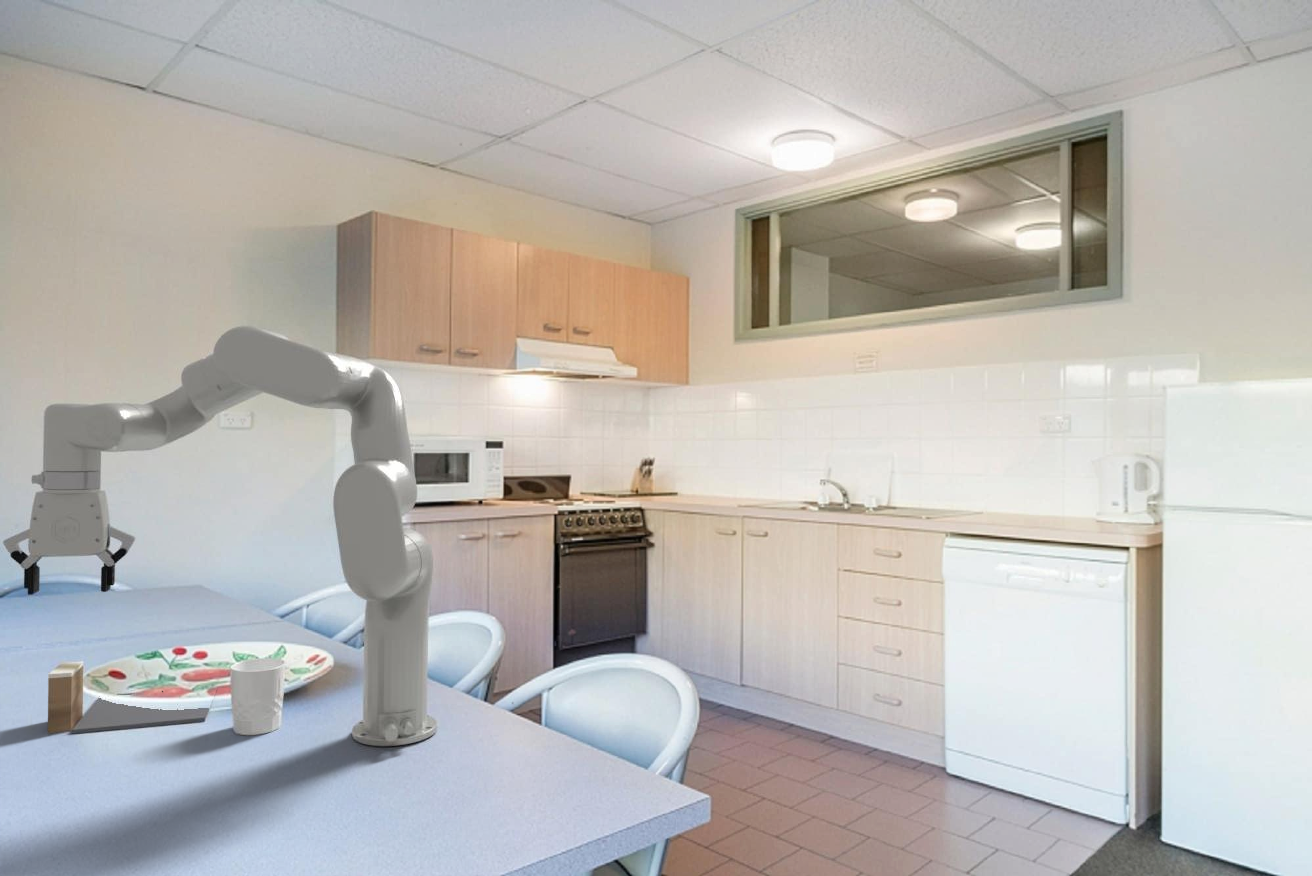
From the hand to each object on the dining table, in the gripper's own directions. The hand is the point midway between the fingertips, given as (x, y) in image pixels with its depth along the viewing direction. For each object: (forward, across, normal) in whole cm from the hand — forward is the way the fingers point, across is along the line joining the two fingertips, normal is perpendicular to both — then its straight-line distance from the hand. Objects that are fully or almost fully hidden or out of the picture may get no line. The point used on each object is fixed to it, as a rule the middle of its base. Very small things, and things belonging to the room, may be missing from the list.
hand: (70, 591), depth 135 cm
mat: (+21, +11, +4) cm, 24 cm away
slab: (+21, 0, 0) cm, 21 cm away
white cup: (+21, +28, -11) cm, 36 cm away
